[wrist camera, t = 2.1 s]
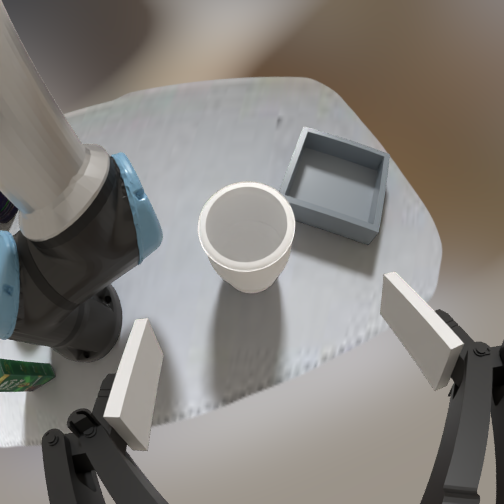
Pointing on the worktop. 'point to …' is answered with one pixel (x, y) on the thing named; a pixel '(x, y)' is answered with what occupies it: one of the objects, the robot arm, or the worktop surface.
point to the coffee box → (23, 375)
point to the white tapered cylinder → (247, 234)
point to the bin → (336, 185)
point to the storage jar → (6, 209)
